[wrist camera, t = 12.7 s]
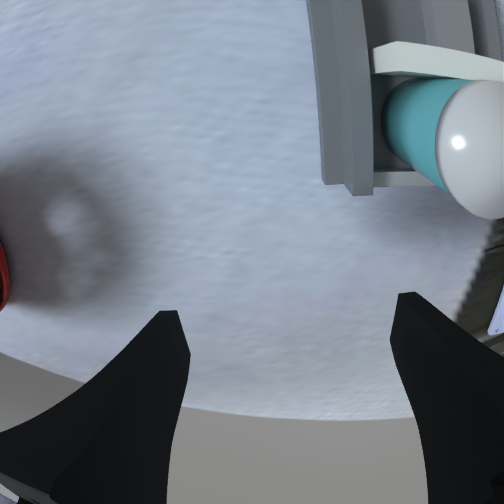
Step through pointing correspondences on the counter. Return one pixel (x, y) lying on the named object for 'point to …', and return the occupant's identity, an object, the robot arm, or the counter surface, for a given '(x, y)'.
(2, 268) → the plant pot
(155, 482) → the robot arm
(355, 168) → the lane
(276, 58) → the counter surface
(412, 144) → the jar
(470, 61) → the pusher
